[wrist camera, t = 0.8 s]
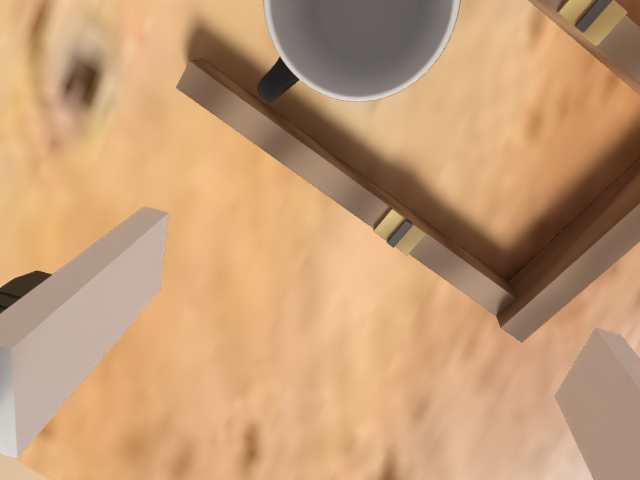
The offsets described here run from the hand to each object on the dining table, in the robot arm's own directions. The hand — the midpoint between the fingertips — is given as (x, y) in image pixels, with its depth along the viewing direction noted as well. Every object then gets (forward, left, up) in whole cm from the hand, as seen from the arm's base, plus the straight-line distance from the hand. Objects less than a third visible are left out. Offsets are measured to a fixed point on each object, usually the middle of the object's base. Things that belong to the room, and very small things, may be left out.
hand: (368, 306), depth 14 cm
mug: (-6, +5, -22) cm, 23 cm away
